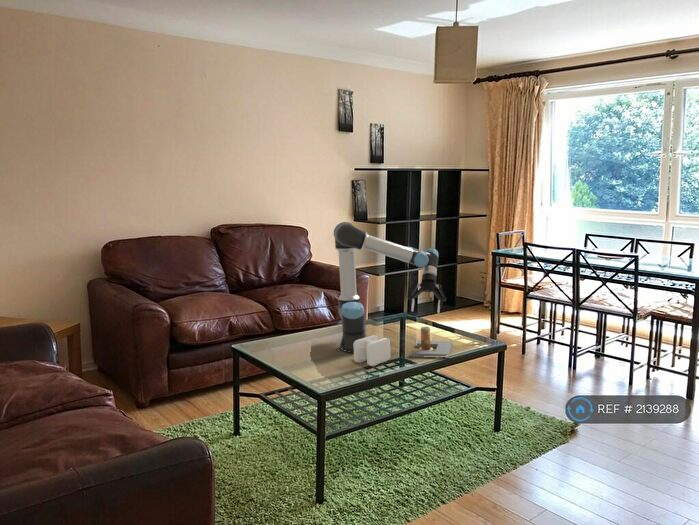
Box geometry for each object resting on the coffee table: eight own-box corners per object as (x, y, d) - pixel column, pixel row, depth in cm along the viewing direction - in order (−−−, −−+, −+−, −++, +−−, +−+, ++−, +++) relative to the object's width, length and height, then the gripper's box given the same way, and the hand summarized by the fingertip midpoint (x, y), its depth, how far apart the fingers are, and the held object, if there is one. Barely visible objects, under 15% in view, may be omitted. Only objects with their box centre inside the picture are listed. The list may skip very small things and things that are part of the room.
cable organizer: (368, 368, 270) (367, 344, 268) (353, 363, 278) (352, 340, 276) (391, 360, 280) (390, 337, 278) (376, 355, 288) (375, 333, 286)
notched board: (412, 357, 283) (411, 353, 282) (418, 344, 302) (417, 340, 301) (449, 358, 278) (449, 354, 278) (452, 345, 297) (452, 341, 297)
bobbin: (418, 352, 288) (417, 329, 286) (420, 348, 295) (419, 325, 293) (432, 353, 287) (431, 330, 285) (433, 349, 293) (433, 326, 291)
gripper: (453, 280, 308) (449, 316, 298) (407, 278, 315) (402, 313, 305) (452, 273, 302) (448, 309, 292) (405, 271, 309) (400, 307, 298)
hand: (425, 311), depth 298 cm, fingers open, 13 cm apart
